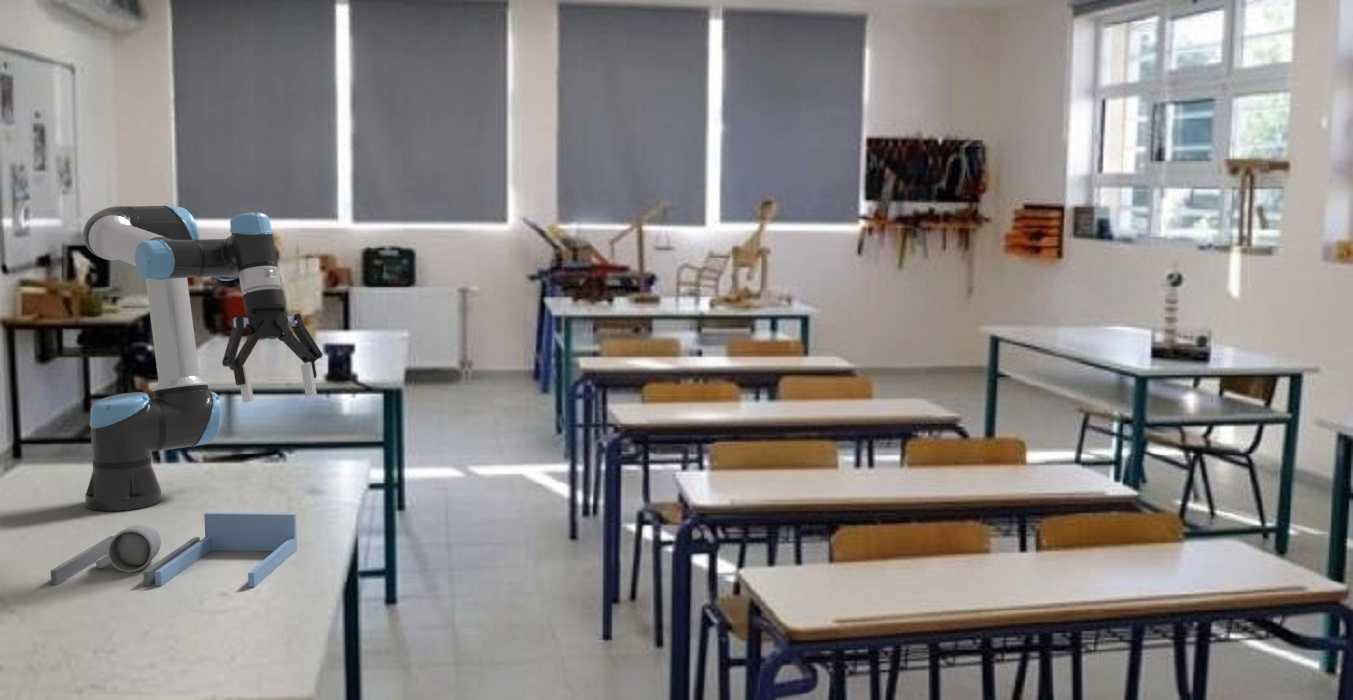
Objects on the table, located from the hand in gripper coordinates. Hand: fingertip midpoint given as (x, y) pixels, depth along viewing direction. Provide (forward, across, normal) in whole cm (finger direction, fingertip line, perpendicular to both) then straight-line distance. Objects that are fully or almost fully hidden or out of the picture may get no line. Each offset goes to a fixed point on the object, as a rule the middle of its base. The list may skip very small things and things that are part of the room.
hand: (280, 398), depth 243 cm
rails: (+26, -28, +12) cm, 40 cm away
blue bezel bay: (+30, -17, -1) cm, 34 cm away
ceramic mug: (+26, -28, +12) cm, 41 cm away
